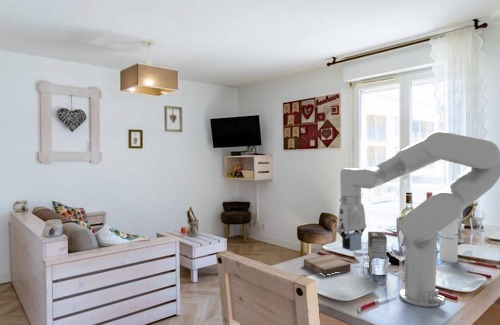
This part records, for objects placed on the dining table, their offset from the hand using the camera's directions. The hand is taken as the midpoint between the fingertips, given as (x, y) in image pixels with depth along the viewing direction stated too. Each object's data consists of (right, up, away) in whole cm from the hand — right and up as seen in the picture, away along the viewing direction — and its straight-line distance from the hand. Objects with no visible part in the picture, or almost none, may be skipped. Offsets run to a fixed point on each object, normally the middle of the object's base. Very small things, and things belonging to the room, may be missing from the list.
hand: (351, 246), depth 130 cm
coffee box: (+14, -14, +12) cm, 23 cm away
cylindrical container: (+53, -13, +26) cm, 60 cm away
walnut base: (-6, -14, +16) cm, 22 cm away
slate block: (0, -1, 0) cm, 1 cm away
